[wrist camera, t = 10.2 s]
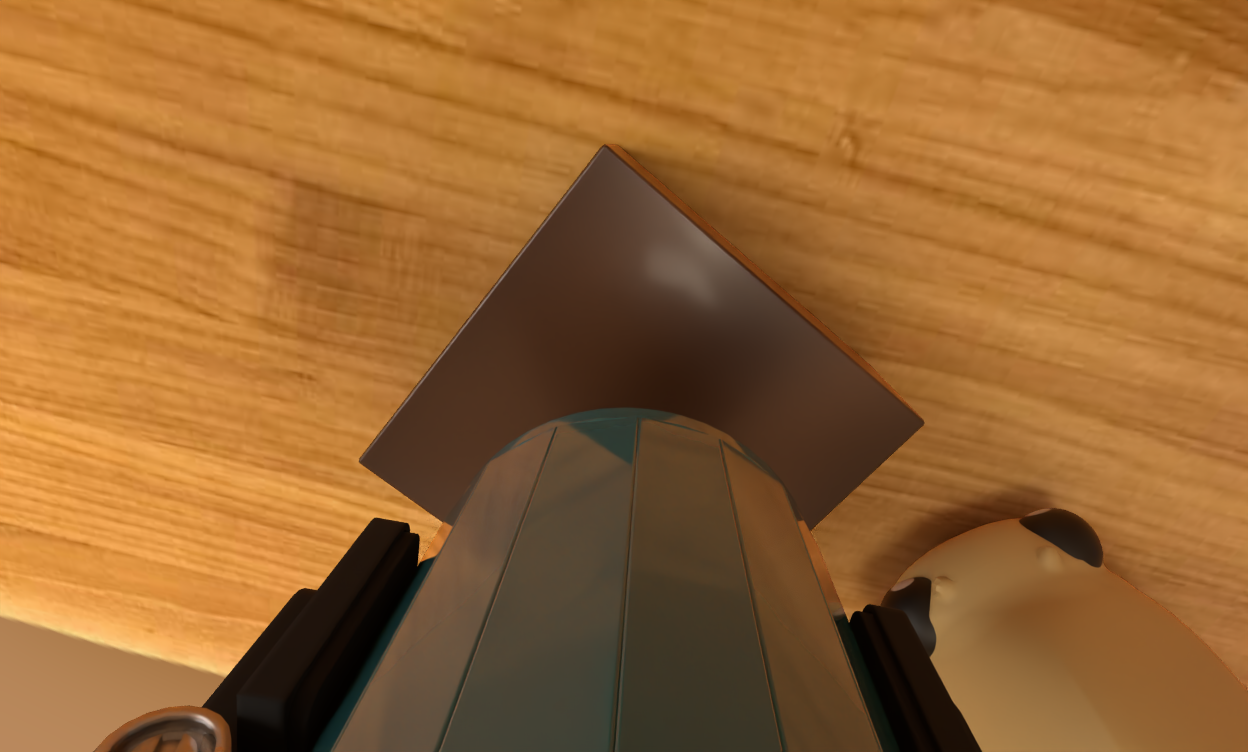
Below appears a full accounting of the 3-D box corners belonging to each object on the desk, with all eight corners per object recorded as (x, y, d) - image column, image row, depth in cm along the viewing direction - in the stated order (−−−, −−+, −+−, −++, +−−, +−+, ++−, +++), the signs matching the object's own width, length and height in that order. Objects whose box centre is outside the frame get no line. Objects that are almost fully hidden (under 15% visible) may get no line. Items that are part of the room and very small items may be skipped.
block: (415, 400, 24) (356, 462, 19) (615, 143, 21) (604, 142, 16) (656, 579, 26) (656, 676, 21) (871, 366, 23) (927, 423, 18)
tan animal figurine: (1069, 522, 28) (1135, 426, 20) (1315, 863, 22) (1576, 948, 13) (845, 616, 30) (812, 567, 21) (1014, 962, 24) (1068, 1098, 15)
